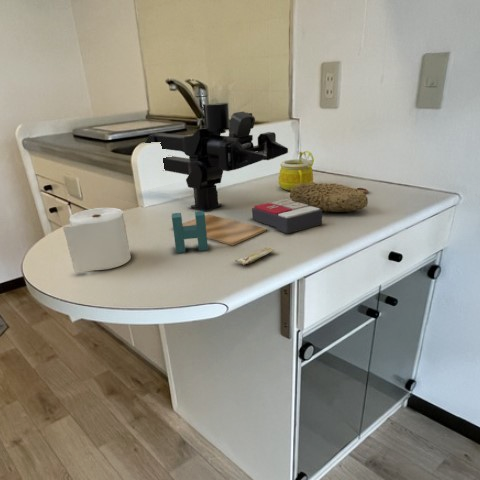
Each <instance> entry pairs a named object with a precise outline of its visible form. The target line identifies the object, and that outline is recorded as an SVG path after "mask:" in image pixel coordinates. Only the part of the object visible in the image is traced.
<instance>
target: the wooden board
mask: <svg viewBox="0 0 480 480" xmlns="http://www.w3.org/2000/svg"><path fill="white" fill-rule="evenodd" d="M205 222H206V233H207V239H209V240H213V241H215V242H219V243H223V244H227V245H229V246H234V245H237V244H239V243H242V242H244V241H247V240H249V239H251V238H254V237H256V236H257V235H260V234H262V233H265V232H266V231H267V228H265V227H262V226H257V225H253V224H249V223H245V222H240V221H237V220H233V219H228V218H225V217H220V216H216V215H211V214H205ZM191 225H196V219H193V220H189V221H187V222H184V223H182V226H191Z"/></svg>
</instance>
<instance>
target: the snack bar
mask: <svg viewBox="0 0 480 480" xmlns="http://www.w3.org/2000/svg"><path fill="white" fill-rule="evenodd" d="M274 251H275V248H272V247H271V248H269V247H264V249H261V250H256V251H254V252H251V253H248V254H246V255H245V256H242V257H241V258H239V259H234V262H236V263H238V264H241V265H243V266H246V265H249V264H252V263H254V262H255V261H257V260H259V259H260V258H263V257H264V256H266V255H269V254H270V253H272V252H274Z"/></svg>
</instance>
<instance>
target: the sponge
mask: <svg viewBox="0 0 480 480" xmlns="http://www.w3.org/2000/svg"><path fill="white" fill-rule="evenodd" d="M289 198H290V200H291V201H295V202H299V203H303V204H307V205H308V206H312V207H316V208H319V209H321V210H322V212H330V213H331V212H332V213H340V212H341V213H344V212H346V213H347V212H353V211H358V210H362V209H365V208H366V207H368V204H369V199H368V198H369V197H368V196H367V193H364V192H363V190H358V189H357V188H354V187H351V186H347V185H343V184H338V183H328V182H323V183H316V182H314V181H313V182H311V184H309V183H305V184H304V183H302V184H298V185H295V187H294V188H293V189H291V191H290V193H289Z"/></svg>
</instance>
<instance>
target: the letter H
mask: <svg viewBox="0 0 480 480" xmlns="http://www.w3.org/2000/svg"><path fill="white" fill-rule="evenodd" d="M205 216H206V214H205V211H203V210H198V211H194V217H195V219H196V225H191V226H182V224H183V219H182V212H176V213H171V222H172V228H173V238H174V245H175V252H176V254H182V253H186V244H185V240H192V239H197V246H198V247H197V248H198V251H199V252H200V251H201V252H203V251H208V250H209V246H208V244H209V243H208V238H207V233H206V222H205ZM195 219H194V220H195Z"/></svg>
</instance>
